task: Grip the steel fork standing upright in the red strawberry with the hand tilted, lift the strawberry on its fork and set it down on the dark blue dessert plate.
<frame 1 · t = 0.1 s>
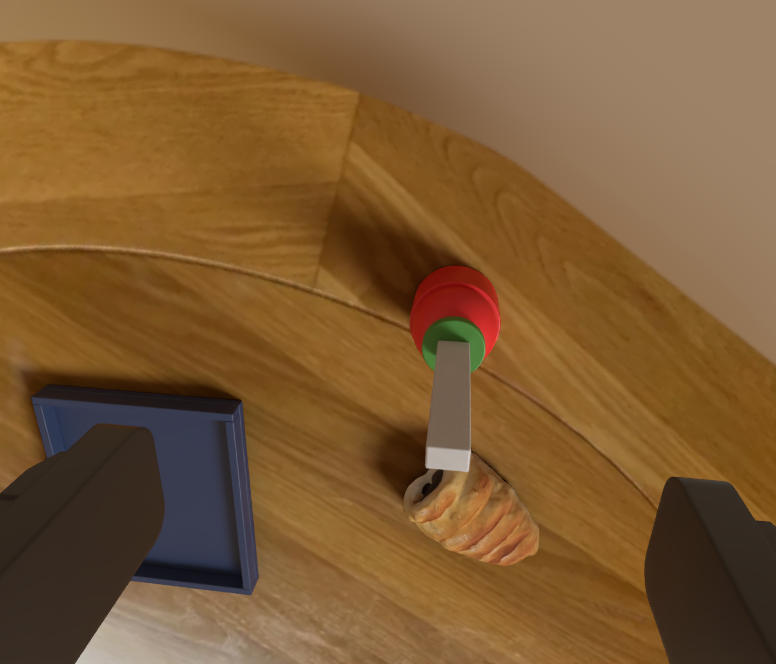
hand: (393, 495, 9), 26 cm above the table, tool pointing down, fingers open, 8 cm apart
pastry: (470, 493, 41), on the table
plate: (159, 486, 44), on the table
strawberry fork: (455, 305, 35), on the table
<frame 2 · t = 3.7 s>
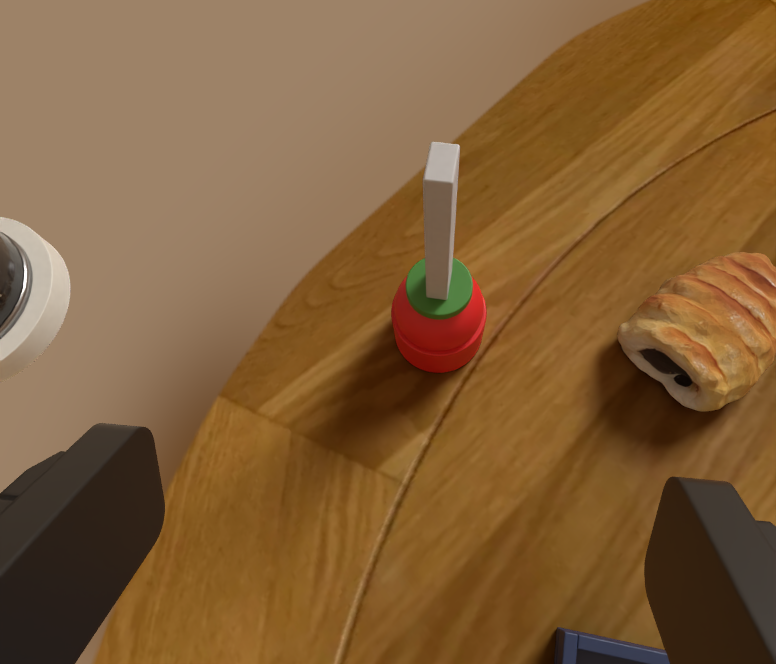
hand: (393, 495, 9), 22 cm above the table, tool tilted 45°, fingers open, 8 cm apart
pastry: (693, 337, 32), on the table
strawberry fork: (438, 331, 33), on the table
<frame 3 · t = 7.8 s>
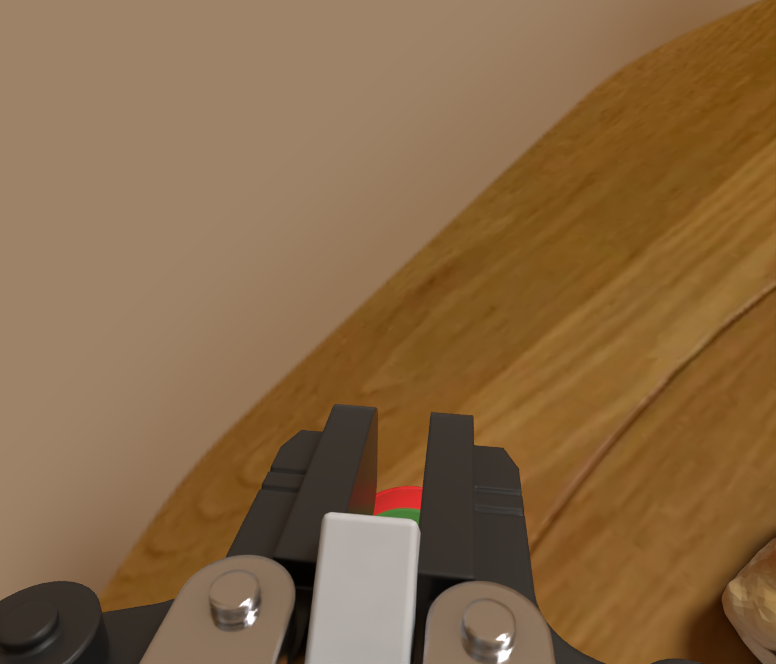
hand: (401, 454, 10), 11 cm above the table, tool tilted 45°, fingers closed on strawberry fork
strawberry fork: (413, 571, 20), on the table, touching gripper
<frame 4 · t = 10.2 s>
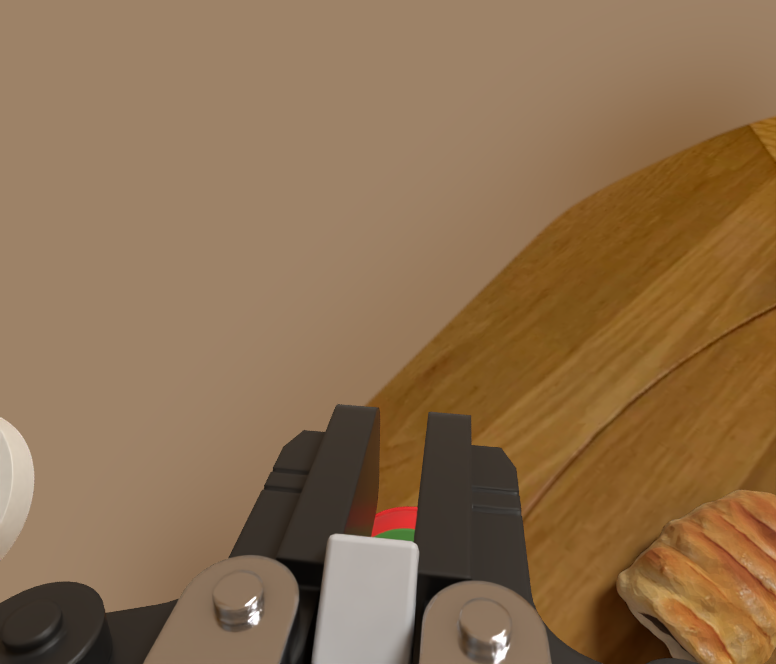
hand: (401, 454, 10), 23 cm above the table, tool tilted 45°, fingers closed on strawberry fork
pastry: (699, 580, 30), on the table
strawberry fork: (412, 591, 20), point 11 cm above the table, touching gripper
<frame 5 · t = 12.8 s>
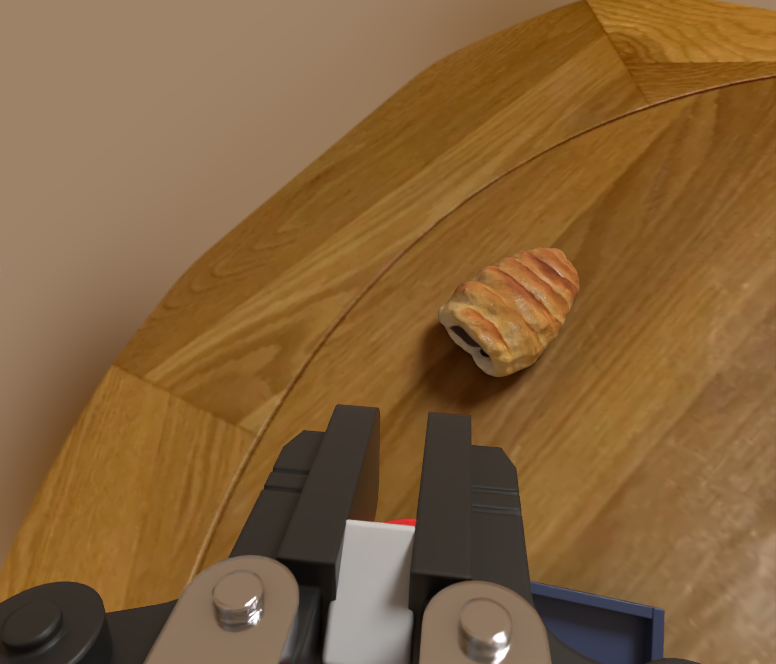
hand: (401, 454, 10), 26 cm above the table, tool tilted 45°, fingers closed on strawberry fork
pastry: (504, 318, 39), on the table
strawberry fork: (411, 603, 21), point 14 cm above the table, touching gripper
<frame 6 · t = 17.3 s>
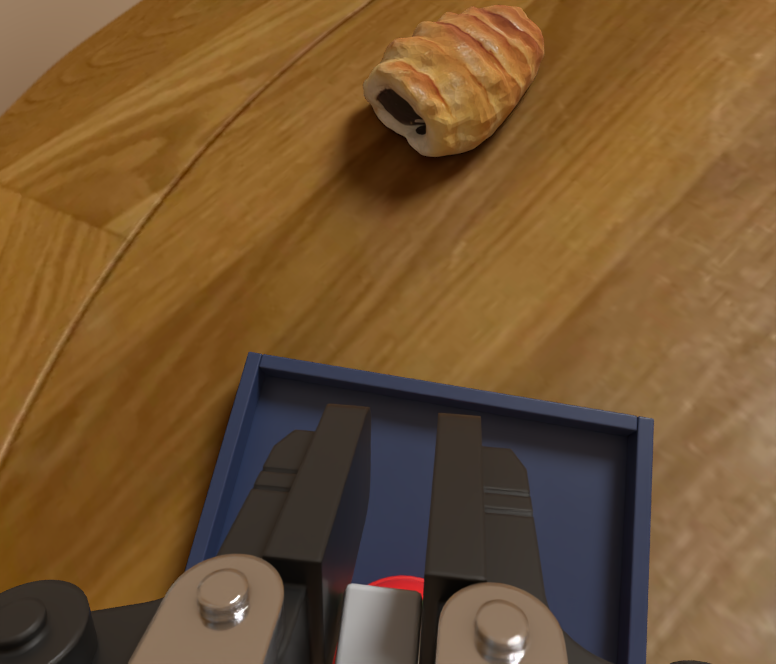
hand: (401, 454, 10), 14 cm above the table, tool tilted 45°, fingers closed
pastry: (451, 101, 31), on the table
plate: (411, 572, 22), on the table
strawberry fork: (405, 663, 20), point 1 cm above the table, tilted 9°, touching plate
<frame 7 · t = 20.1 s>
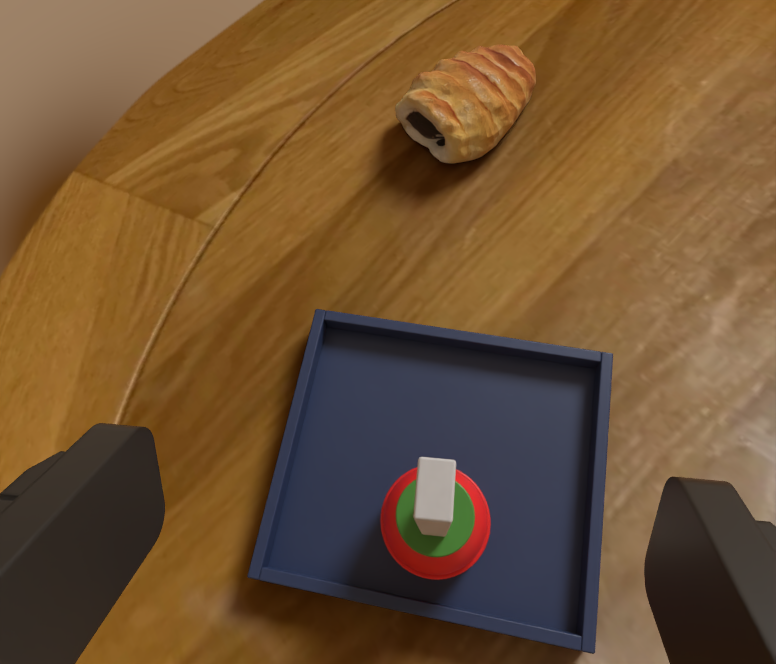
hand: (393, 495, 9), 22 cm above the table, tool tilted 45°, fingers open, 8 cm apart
pastry: (463, 119, 39), on the table
plate: (438, 465, 31), on the table
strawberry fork: (435, 523, 29), point 1 cm above the table, touching plate
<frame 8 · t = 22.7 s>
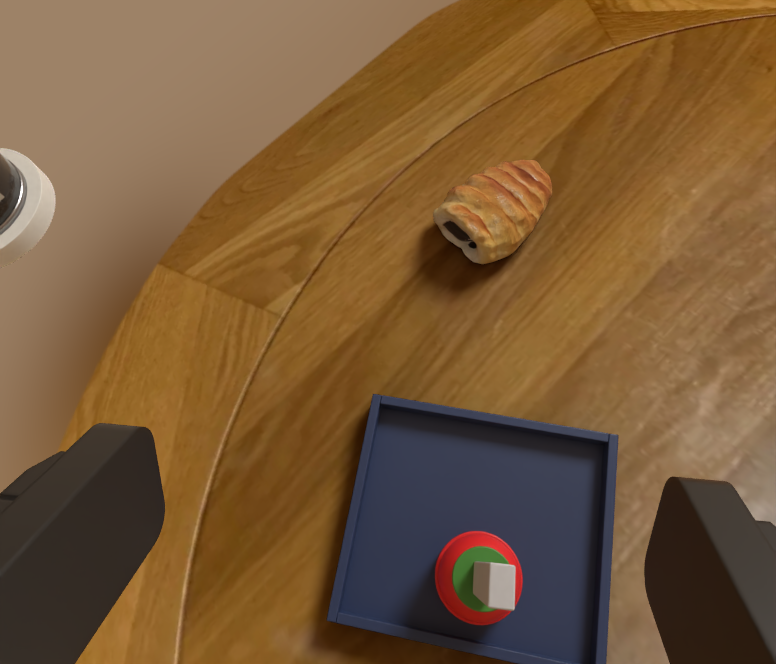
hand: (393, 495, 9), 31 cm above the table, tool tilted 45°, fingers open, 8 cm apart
pastry: (489, 220, 46), on the table
plate: (475, 525, 38), on the table
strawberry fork: (475, 575, 36), point 1 cm above the table, touching plate
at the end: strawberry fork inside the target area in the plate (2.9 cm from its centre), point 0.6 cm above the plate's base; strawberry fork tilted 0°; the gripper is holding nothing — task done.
